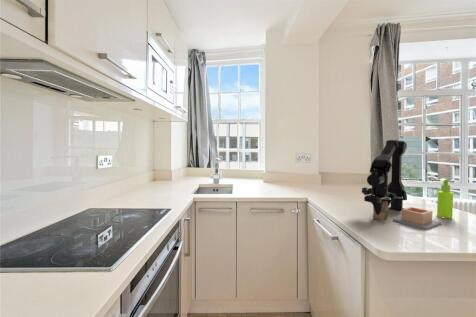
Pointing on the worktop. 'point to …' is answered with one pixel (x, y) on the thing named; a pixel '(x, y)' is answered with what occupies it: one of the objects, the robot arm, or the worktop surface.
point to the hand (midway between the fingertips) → (380, 213)
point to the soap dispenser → (445, 200)
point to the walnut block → (381, 212)
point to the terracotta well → (417, 218)
